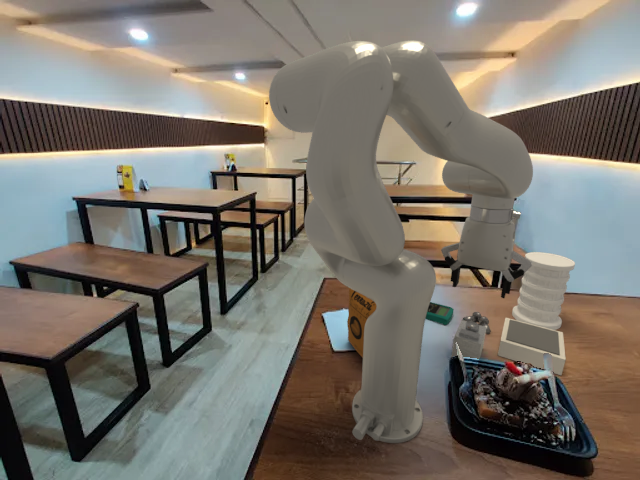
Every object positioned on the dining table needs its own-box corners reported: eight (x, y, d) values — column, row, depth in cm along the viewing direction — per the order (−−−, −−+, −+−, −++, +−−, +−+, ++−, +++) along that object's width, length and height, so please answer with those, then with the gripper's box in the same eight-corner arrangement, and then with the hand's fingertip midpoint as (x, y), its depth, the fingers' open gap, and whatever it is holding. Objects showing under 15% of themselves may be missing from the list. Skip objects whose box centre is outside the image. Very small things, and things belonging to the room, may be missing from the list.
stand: (561, 375, 67) (565, 358, 66) (497, 355, 74) (500, 339, 72) (559, 346, 77) (563, 331, 75) (502, 330, 83) (505, 316, 82)
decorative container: (571, 326, 85) (588, 264, 80) (538, 333, 82) (553, 269, 77) (533, 306, 96) (545, 249, 90) (502, 311, 93) (513, 253, 87)
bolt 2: (491, 334, 82) (493, 326, 81) (481, 333, 82) (483, 325, 81) (487, 324, 86) (489, 317, 85) (477, 323, 86) (479, 315, 86)
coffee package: (363, 372, 68) (368, 279, 62) (342, 340, 79) (344, 258, 73) (404, 363, 71) (412, 273, 64) (378, 333, 82) (383, 253, 76)
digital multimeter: (404, 301, 99) (404, 293, 98) (453, 315, 91) (455, 306, 90) (395, 311, 94) (395, 302, 93) (447, 327, 85) (448, 318, 85)
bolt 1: (467, 325, 86) (469, 317, 85) (461, 320, 88) (462, 313, 87) (480, 321, 87) (482, 314, 87) (474, 317, 89) (475, 310, 89)
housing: (477, 367, 70) (482, 340, 68) (451, 358, 73) (455, 332, 71) (482, 348, 76) (487, 323, 74) (458, 341, 79) (462, 316, 77)
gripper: (541, 216, 63) (525, 293, 68) (450, 207, 72) (442, 275, 77) (540, 224, 57) (523, 308, 62) (441, 213, 66) (433, 287, 72)
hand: (478, 290), depth 70 cm, fingers open, 9 cm apart
